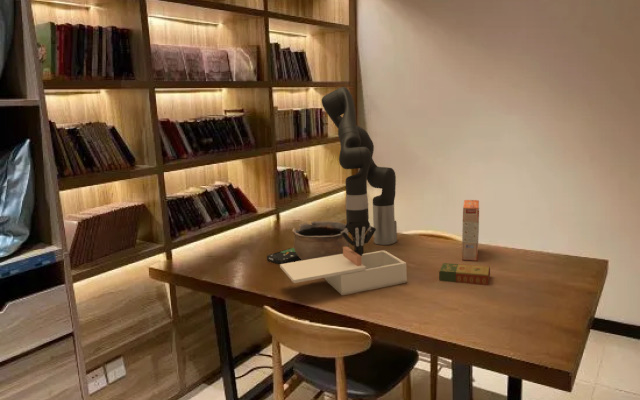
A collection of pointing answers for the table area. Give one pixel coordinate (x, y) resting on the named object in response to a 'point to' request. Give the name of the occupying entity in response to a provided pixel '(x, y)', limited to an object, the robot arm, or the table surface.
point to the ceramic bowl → (319, 239)
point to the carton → (465, 273)
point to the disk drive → (283, 256)
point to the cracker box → (470, 230)
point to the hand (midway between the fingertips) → (359, 255)
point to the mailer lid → (324, 266)
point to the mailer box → (371, 274)
